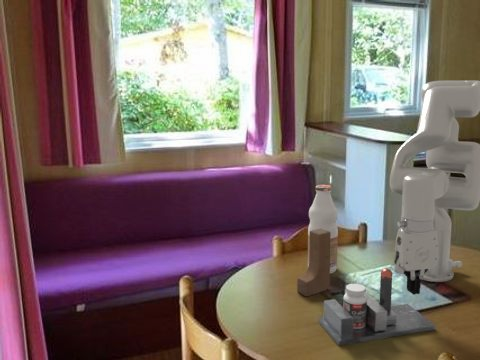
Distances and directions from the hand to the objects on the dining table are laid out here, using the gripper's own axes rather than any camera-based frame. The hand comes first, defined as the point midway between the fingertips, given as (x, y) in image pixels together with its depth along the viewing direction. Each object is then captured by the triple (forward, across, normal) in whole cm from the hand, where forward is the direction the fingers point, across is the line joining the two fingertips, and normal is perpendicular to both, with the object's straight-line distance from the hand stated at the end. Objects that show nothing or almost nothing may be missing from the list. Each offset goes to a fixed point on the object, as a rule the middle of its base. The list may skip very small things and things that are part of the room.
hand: (413, 291), depth 125 cm
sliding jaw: (+6, -10, -1) cm, 12 cm away
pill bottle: (+6, -17, 0) cm, 18 cm away
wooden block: (+8, -18, +23) cm, 30 cm away
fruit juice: (+8, -9, +37) cm, 39 cm away
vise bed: (+7, -11, -1) cm, 13 cm away
